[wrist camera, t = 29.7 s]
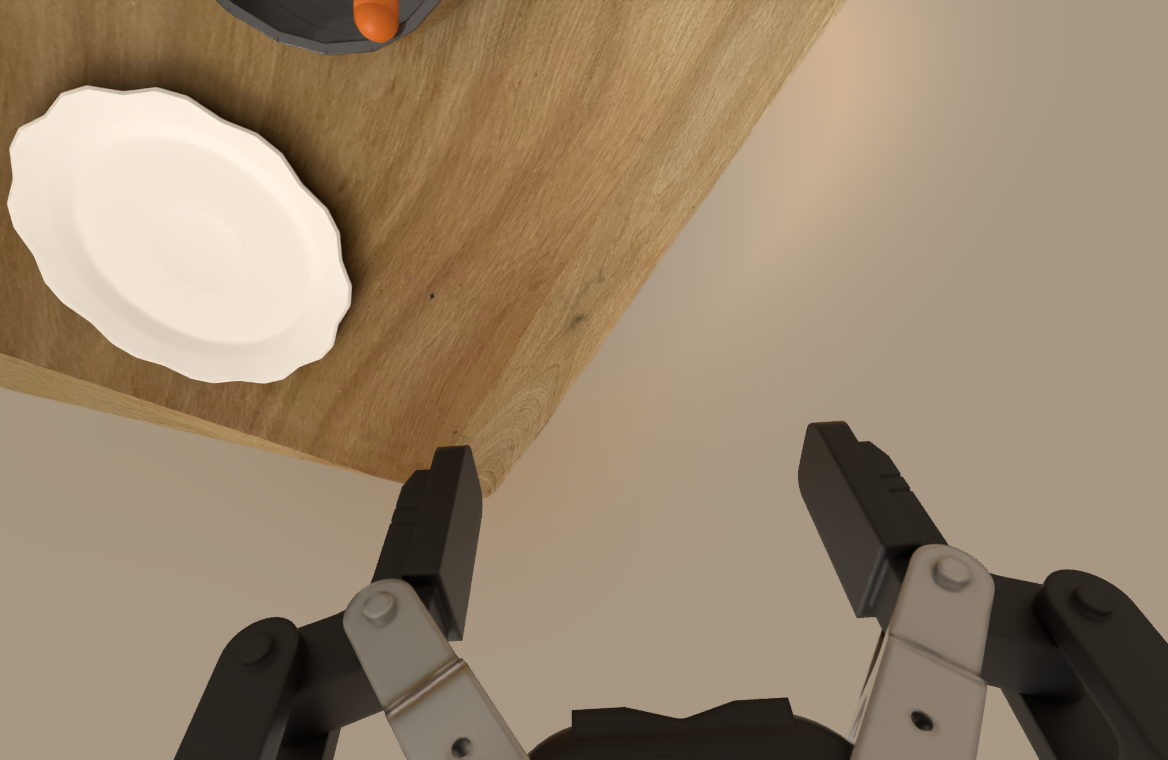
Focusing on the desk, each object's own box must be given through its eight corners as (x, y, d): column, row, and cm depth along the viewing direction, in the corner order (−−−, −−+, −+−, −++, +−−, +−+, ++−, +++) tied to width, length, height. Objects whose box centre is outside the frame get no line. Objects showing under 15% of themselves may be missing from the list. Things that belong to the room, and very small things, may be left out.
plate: (178, 7, 38) (161, 8, 37) (415, 300, 51) (410, 311, 50) (-46, 190, 45) (-68, 198, 43) (215, 409, 58) (205, 421, 56)
